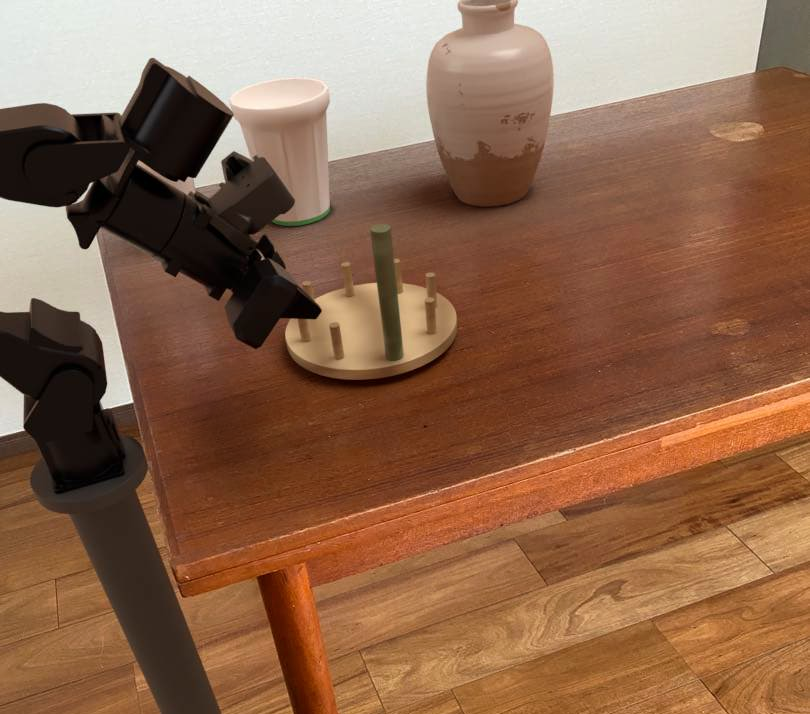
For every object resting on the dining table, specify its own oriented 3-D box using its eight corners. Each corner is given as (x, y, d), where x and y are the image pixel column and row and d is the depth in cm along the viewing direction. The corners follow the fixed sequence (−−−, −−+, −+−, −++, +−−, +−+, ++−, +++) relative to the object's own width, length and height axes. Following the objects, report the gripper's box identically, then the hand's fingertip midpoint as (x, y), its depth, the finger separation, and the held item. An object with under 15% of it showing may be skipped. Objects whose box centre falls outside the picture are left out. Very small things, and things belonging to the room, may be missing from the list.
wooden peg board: (313, 398, 85) (286, 258, 75) (269, 317, 98) (241, 188, 88) (485, 350, 88) (480, 210, 79) (420, 278, 101) (410, 150, 92)
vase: (488, 227, 111) (483, 23, 96) (409, 196, 121) (393, 6, 106) (576, 188, 118) (584, -9, 102) (494, 161, 128) (491, -22, 112)
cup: (359, 216, 118) (343, 93, 107) (272, 241, 114) (247, 116, 104) (324, 187, 126) (306, 70, 116) (242, 210, 123) (216, 92, 112)
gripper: (244, 174, 62) (406, 281, 72) (197, 104, 75) (338, 203, 85) (165, 304, 66) (328, 389, 76) (133, 216, 79) (275, 298, 89)
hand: (318, 313), depth 81 cm, fingers closed
